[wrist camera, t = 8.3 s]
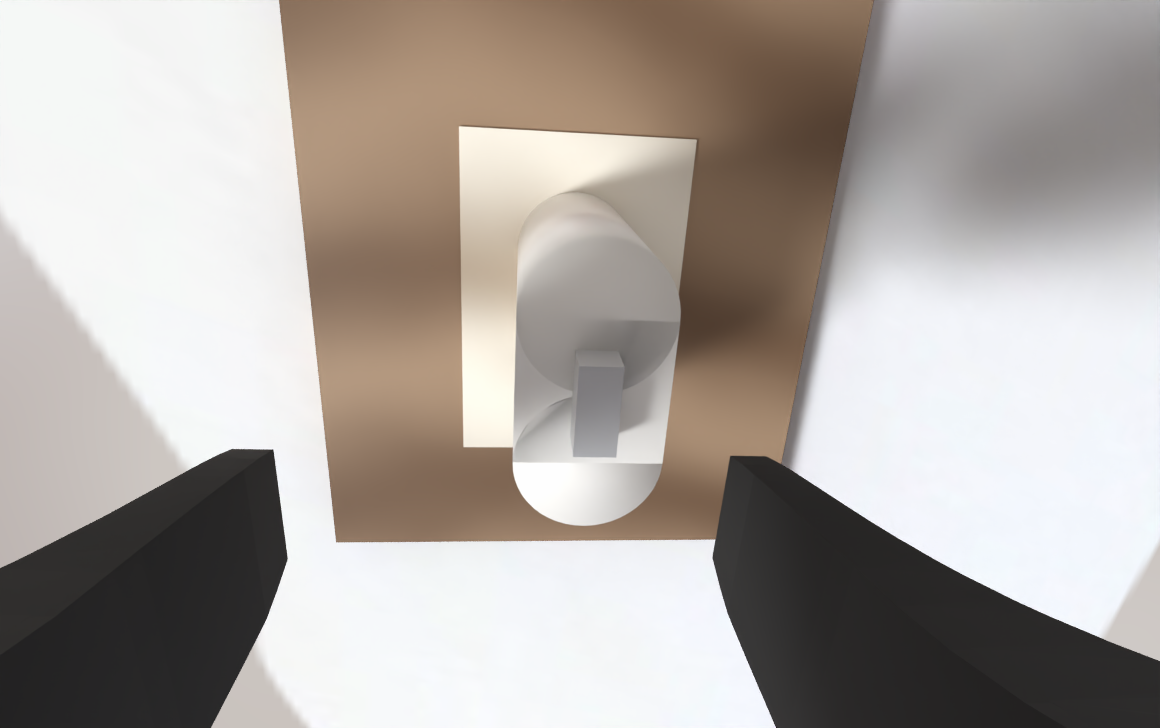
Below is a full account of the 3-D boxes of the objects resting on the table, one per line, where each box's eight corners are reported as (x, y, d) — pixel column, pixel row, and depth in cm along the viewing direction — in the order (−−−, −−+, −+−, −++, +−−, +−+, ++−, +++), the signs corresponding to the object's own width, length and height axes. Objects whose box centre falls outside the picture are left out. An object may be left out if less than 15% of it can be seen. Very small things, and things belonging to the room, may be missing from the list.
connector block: (615, 402, 19) (662, 550, 13) (514, 400, 19) (510, 550, 12) (634, 195, 17) (702, 250, 10) (519, 189, 16) (518, 242, 10)
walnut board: (756, 521, 22) (767, 540, 21) (344, 522, 21) (335, 544, 20) (854, 2, 16) (876, -5, 15) (288, -43, 15) (271, -54, 14)
